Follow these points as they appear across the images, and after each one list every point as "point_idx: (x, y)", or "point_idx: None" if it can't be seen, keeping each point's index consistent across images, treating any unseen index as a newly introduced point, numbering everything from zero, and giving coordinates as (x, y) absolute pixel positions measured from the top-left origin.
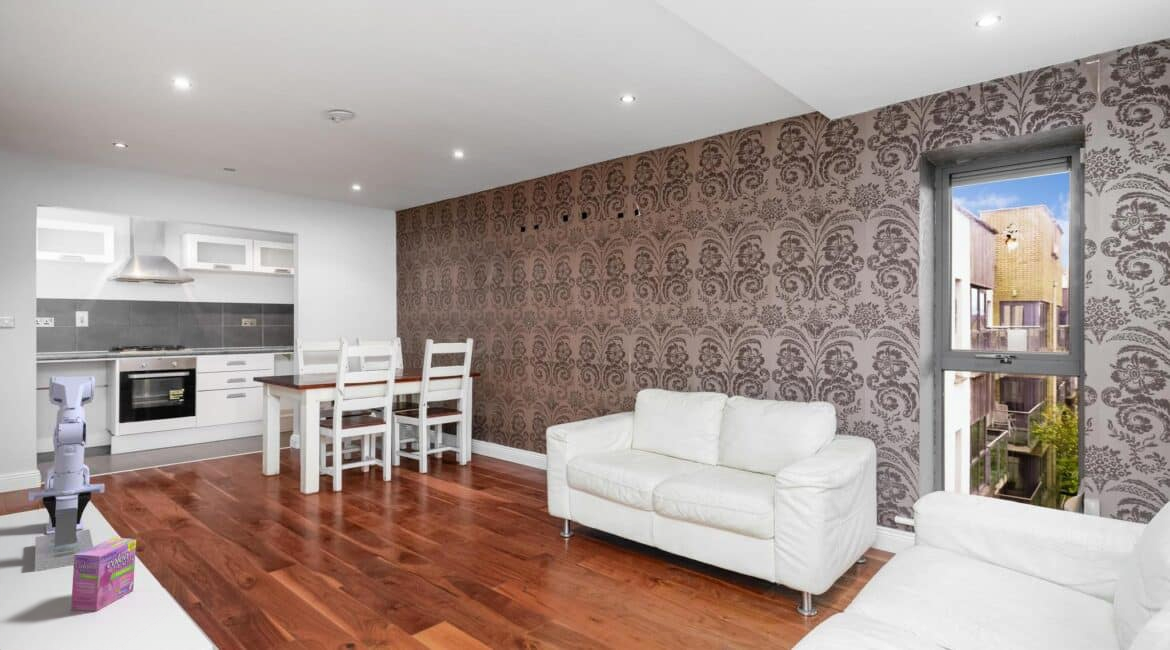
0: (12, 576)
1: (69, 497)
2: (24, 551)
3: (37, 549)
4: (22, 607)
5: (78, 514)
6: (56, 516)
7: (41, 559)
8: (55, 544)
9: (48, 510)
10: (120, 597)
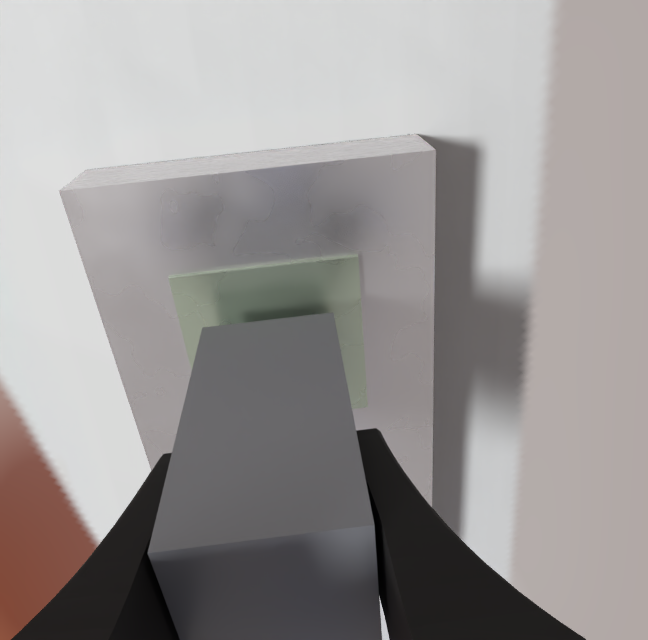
0: (531, 96)
1: None
2: (459, 493)
3: (422, 391)
4: None
5: (146, 524)
6: (366, 499)
7: (398, 164)
8: (329, 320)
9: (479, 569)
10: None
